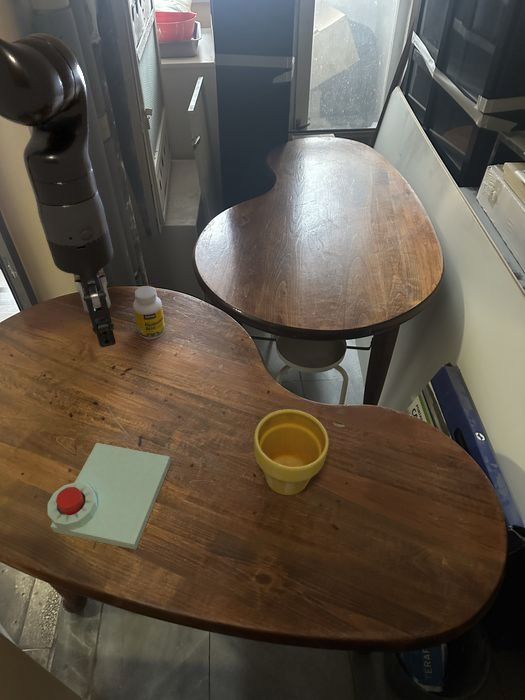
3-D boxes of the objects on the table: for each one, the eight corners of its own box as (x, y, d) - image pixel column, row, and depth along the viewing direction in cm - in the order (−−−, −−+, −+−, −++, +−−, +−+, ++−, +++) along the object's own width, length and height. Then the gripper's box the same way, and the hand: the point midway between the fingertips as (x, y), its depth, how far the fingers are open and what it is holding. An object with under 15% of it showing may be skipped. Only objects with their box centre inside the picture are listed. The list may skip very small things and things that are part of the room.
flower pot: (318, 447, 77) (325, 408, 70) (324, 507, 69) (332, 470, 63) (253, 447, 77) (254, 407, 70) (252, 506, 69) (253, 469, 62)
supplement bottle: (146, 344, 94) (139, 304, 87) (133, 329, 97) (124, 290, 90) (170, 332, 96) (165, 293, 90) (156, 319, 99) (150, 279, 93)
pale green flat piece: (46, 531, 66) (38, 518, 64) (92, 447, 76) (87, 434, 74) (136, 550, 64) (131, 538, 62) (171, 462, 74) (168, 449, 72)
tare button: (55, 512, 65) (51, 505, 63) (66, 491, 67) (63, 484, 66) (77, 516, 64) (73, 510, 63) (88, 495, 67) (85, 489, 65)
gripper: (39, 206, 63) (71, 304, 75) (49, 262, 54) (83, 364, 65) (98, 197, 66) (120, 293, 77) (116, 250, 56) (138, 351, 67)
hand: (103, 326), depth 71 cm, fingers open, 8 cm apart
